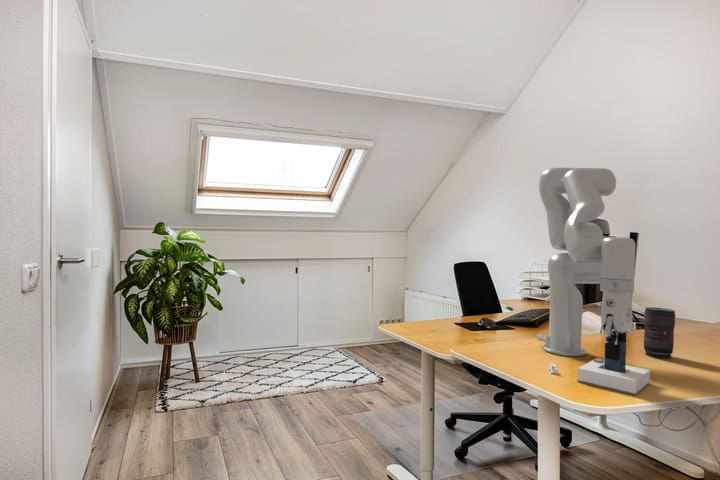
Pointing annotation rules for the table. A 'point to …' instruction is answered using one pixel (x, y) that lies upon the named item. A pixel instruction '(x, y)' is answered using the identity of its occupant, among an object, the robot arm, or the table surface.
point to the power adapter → (552, 368)
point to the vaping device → (621, 363)
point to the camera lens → (659, 332)
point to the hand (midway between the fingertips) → (614, 357)
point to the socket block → (614, 377)
